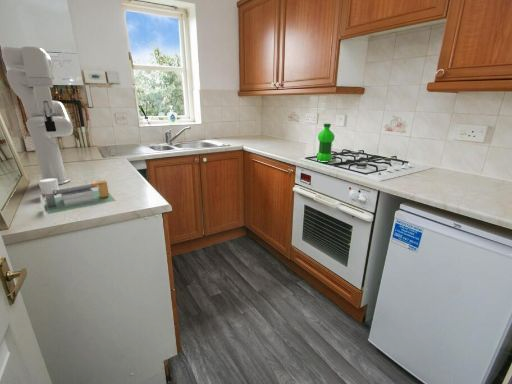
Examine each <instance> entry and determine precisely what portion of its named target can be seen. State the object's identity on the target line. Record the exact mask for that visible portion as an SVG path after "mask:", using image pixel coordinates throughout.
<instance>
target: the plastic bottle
mask: <svg viewBox="0 0 512 384" xmlns="http://www.w3.org/2000/svg"><path fill="white" fill-rule="evenodd" d="M331 125H332V124H331V123H323V127H324V129H323V130H321V131H320V132H319V133H318V136H317V140H318V141H319V146H318V153H317V155H316V159H317V160H318V161H319V160H320V161H329V162H330V161H331V160H332V159H333V155H332V145H333V142H334V141H335V134H334V133H333V131H331V130H330V128H331ZM320 161H319V162H320Z"/></svg>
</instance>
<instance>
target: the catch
mask: <svg viewBox="0 0 512 384" xmlns="http://www.w3.org/2000/svg"><path fill="white" fill-rule="evenodd" d="M90 184H92V185H93V186H97V191H99V196H100V197H106V196H109V194H110V192H109V189H108V188H109V187H108V182H107V180H105V179H101V180H97V181H91V183H90ZM108 192H109V193H108Z"/></svg>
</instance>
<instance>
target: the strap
mask: <svg viewBox="0 0 512 384" xmlns="http://www.w3.org/2000/svg"><path fill="white" fill-rule="evenodd" d="M89 188H91V189H94V188H98V185H97V186H93V185H92V183H90V184H84V185H79V186H74V187H73V186H72V187H68V188H62V189H59V190H53V191H52V192H53V195H54V196H57V195H61V194H62V193H67V192H73V191H78V190H84V189H89Z"/></svg>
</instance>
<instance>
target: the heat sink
mask: <svg viewBox="0 0 512 384" xmlns="http://www.w3.org/2000/svg"><path fill="white" fill-rule="evenodd" d="M93 191H94V190H93V188H89V189H84V190H78V191H73V192H67V193H62V194H60V195H61V196H60V197H62V200H63V202H64V205H65V207H68V206H73V205H78V204H83V203H89V202H94V201H95V197H94V193H93ZM44 195H45V196H44V197H45V200H46V201H47V204H48V208H51V207H57V206H56V202H55V198H56V197H55V195H53V194H44Z"/></svg>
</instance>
